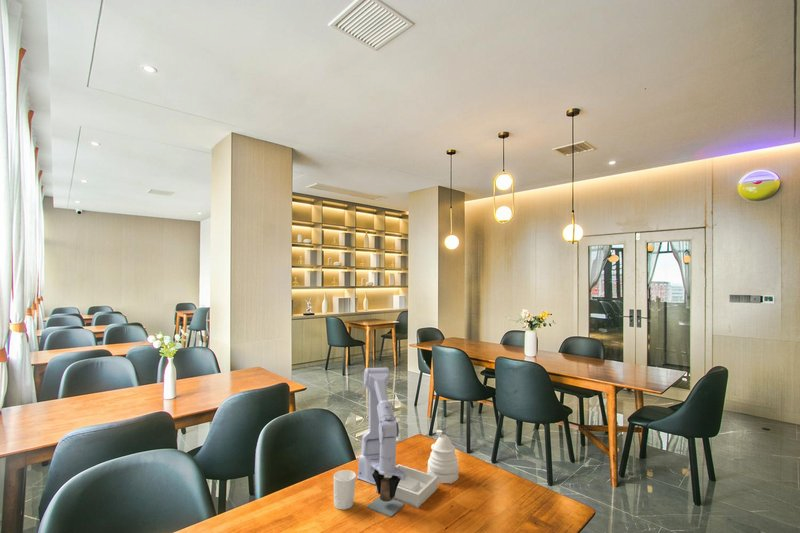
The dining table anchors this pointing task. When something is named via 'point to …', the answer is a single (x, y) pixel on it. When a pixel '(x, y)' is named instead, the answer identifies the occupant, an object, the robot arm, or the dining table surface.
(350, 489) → the white cup
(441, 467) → the honey pot
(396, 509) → the slate pad
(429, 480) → the grey crate
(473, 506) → the dining table surface
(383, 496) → the walnut cylinder
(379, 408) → the robot arm
